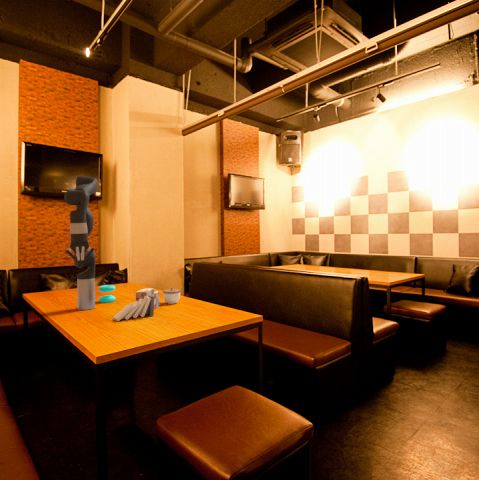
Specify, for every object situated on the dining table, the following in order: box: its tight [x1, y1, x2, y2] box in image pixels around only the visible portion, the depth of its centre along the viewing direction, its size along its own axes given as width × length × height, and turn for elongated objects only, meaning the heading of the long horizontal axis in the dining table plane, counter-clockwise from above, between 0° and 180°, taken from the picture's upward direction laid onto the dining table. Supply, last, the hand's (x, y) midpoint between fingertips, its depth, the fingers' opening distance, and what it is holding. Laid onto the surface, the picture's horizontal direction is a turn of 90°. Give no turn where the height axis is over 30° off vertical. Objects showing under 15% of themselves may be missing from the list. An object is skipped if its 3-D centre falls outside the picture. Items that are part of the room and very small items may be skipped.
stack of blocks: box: [135, 287, 160, 316], centre depth 184 cm, size 21×6×12 cm, turn 177°
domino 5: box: [147, 295, 155, 317], centre depth 172 cm, size 5×2×10 cm, turn 32°
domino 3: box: [130, 298, 146, 319], centre depth 168 cm, size 5×2×10 cm
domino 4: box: [138, 296, 151, 318], centre depth 170 cm, size 5×2×10 cm, turn 37°
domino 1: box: [113, 303, 134, 322], centre depth 164 cm, size 5×2×10 cm
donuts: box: [98, 284, 116, 304], centre depth 211 cm, size 10×10×10 cm
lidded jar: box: [162, 287, 181, 305], centre depth 205 cm, size 11×11×9 cm
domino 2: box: [122, 300, 141, 321], centre depth 166 cm, size 5×2×10 cm
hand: (80, 267), depth 160 cm, fingers closed
